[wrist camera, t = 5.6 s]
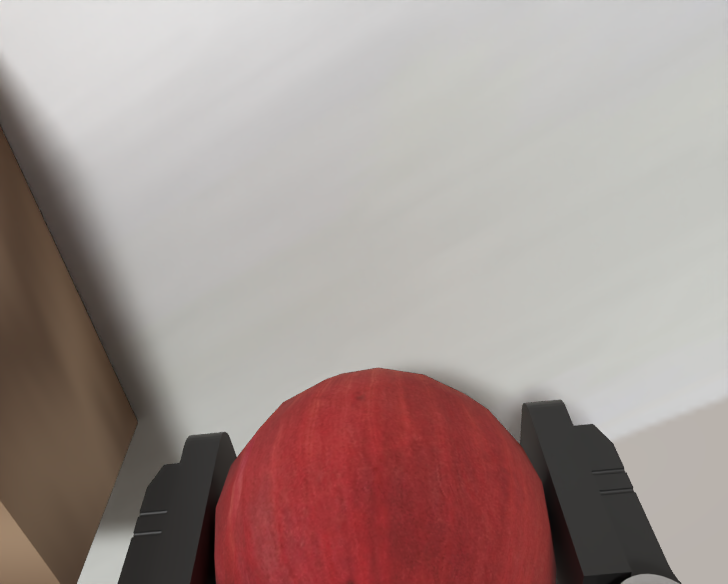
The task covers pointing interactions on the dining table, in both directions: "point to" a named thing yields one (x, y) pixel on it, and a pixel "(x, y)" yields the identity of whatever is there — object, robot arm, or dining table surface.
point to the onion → (383, 491)
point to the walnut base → (50, 402)
